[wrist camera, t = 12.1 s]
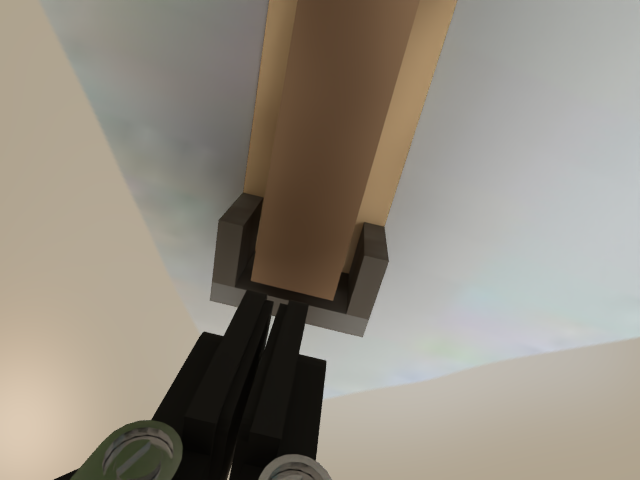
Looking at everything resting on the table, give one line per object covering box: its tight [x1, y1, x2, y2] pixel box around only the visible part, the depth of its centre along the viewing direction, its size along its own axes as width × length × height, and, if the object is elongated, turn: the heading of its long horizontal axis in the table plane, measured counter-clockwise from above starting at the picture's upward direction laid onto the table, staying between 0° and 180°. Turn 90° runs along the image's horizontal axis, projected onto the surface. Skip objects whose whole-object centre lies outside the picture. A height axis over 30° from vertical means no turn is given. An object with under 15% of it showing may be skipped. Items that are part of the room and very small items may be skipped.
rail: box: [210, 0, 457, 337], centre depth 15 cm, size 7×20×4 cm, turn 168°
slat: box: [251, 0, 420, 301], centre depth 15 cm, size 4×14×4 cm, turn 168°
